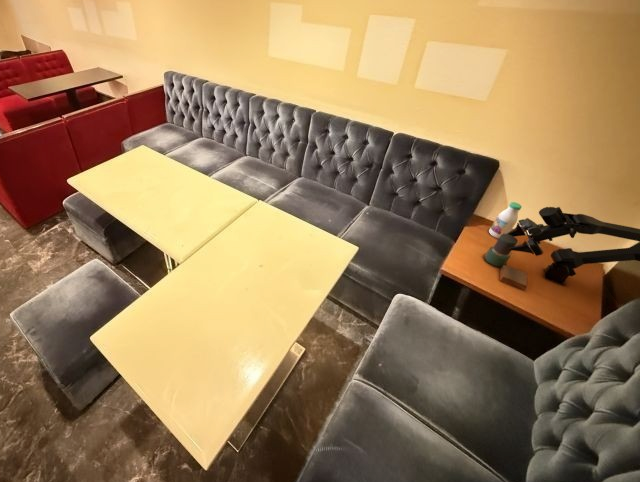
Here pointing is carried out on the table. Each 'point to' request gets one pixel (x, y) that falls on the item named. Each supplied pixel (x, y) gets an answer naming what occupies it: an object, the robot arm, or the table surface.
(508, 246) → the cap
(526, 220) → the robot arm
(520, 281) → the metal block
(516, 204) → the milk bottle
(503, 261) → the green cylinder
